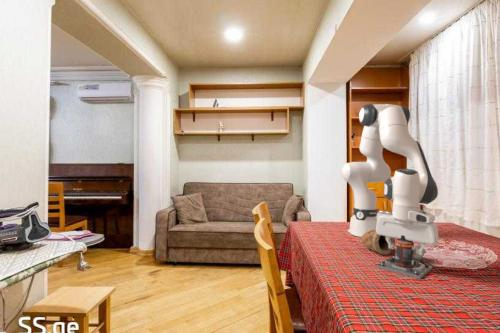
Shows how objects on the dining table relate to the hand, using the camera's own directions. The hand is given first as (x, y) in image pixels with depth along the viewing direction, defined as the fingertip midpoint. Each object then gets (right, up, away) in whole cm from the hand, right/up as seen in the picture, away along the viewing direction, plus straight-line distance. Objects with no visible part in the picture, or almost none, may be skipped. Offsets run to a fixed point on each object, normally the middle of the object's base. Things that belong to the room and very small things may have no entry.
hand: (404, 251), depth 106 cm
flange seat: (+4, -6, +4) cm, 8 cm away
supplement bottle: (0, -5, 0) cm, 5 cm away
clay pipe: (0, -6, +23) cm, 24 cm away
